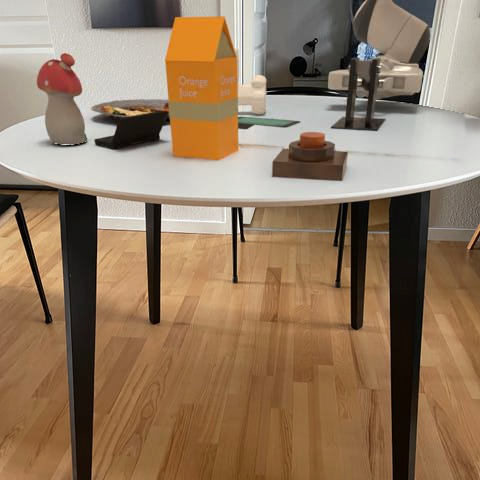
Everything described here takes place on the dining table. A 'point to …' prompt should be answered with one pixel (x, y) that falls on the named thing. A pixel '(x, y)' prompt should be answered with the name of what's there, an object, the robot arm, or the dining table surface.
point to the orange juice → (202, 88)
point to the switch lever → (365, 73)
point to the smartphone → (264, 122)
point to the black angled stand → (135, 130)
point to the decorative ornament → (62, 101)
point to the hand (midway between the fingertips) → (370, 84)
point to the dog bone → (254, 94)
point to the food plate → (131, 107)
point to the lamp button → (312, 139)
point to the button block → (310, 162)
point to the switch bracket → (349, 120)
